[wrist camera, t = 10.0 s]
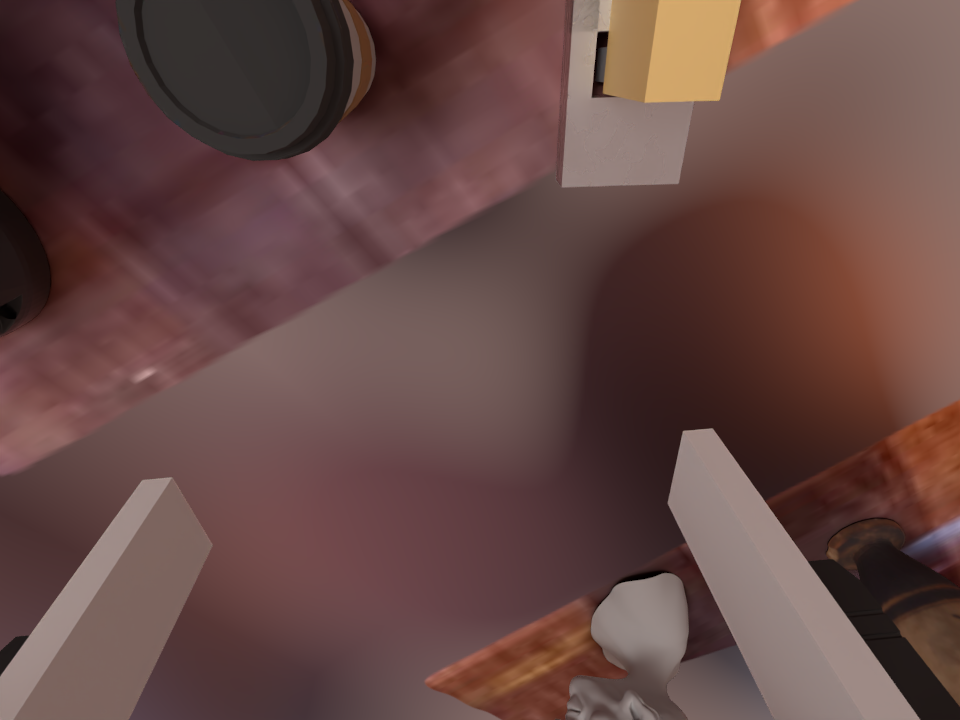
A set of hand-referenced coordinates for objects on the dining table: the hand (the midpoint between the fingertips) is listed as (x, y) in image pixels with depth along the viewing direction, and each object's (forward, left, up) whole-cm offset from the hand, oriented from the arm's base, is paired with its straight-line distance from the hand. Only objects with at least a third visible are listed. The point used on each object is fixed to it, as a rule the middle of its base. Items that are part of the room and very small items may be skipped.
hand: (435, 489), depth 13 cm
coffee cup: (-8, +10, -27) cm, 30 cm away
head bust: (+18, -56, -27) cm, 65 cm away
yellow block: (+11, +12, -27) cm, 31 cm away
